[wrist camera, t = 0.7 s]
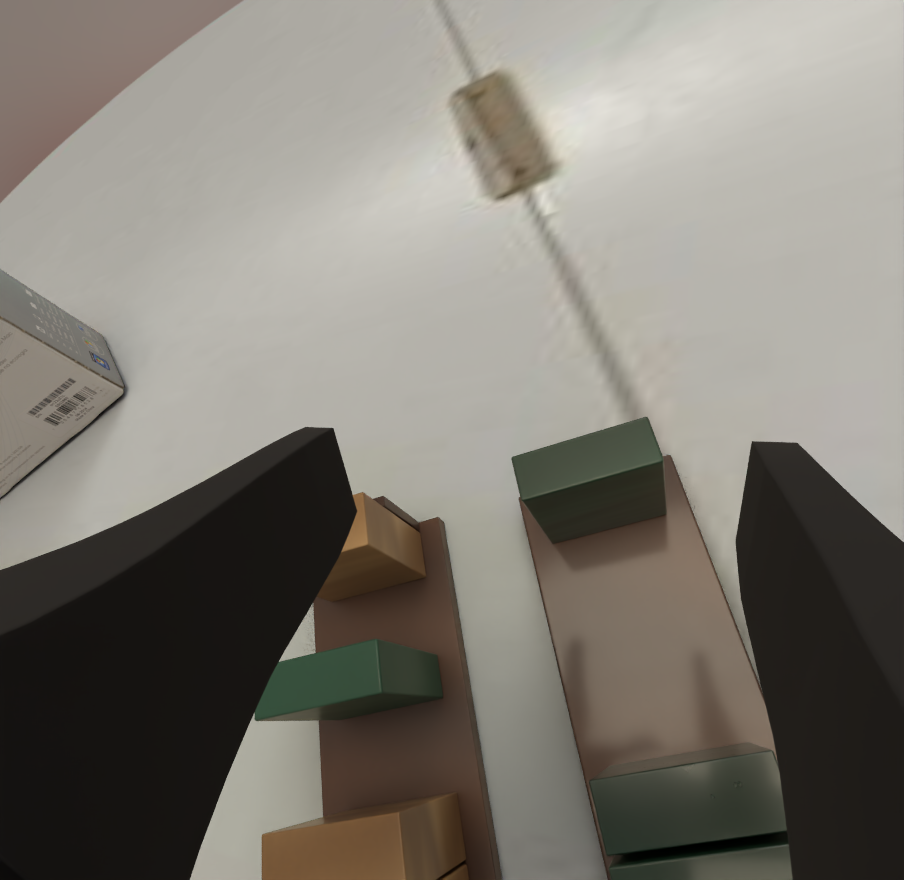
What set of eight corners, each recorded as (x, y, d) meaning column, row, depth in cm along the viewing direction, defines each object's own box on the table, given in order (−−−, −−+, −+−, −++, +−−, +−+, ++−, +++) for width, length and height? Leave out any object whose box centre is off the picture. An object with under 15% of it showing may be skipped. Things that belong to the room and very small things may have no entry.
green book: (443, 698, 24) (382, 693, 19) (338, 720, 25) (253, 721, 20) (437, 653, 25) (377, 637, 20) (335, 677, 26) (253, 667, 21)
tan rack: (513, 947, 21) (450, 1035, 15) (340, 965, 22) (222, 1051, 17) (443, 521, 29) (384, 471, 23) (318, 556, 30) (234, 518, 24)
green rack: (837, 894, 19) (910, 975, 13) (620, 918, 20) (597, 1000, 14) (670, 460, 26) (668, 387, 20) (521, 502, 28) (480, 445, 22)
